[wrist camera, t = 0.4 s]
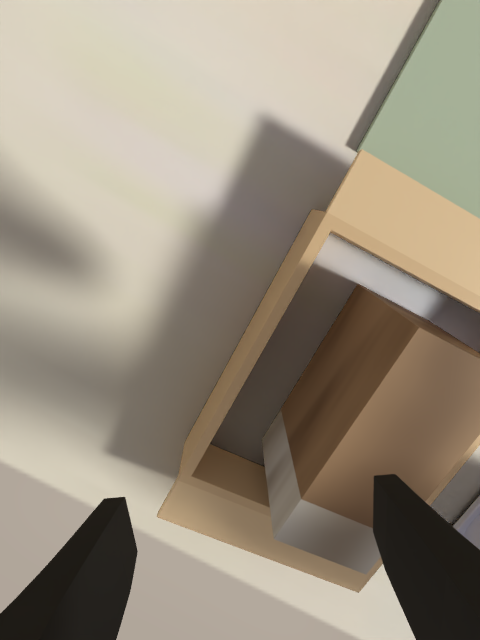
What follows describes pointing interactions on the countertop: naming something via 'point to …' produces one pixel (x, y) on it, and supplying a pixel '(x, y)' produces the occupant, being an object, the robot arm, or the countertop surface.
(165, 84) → the countertop surface
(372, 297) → the block
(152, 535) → the countertop surface
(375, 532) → the robot arm
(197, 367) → the countertop surface
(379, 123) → the mat
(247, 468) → the light wood rectangular frame
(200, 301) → the countertop surface
